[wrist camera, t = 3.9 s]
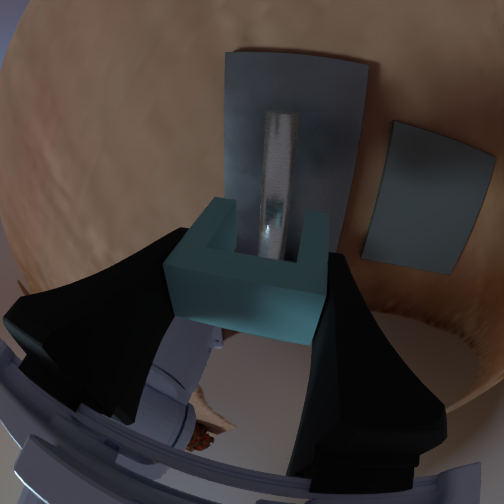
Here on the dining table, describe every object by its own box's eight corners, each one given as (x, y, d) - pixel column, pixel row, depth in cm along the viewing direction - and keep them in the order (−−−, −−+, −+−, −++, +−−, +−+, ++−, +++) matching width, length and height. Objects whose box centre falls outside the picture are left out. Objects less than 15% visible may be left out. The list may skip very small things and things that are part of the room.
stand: (321, 298, 23) (314, 362, 18) (230, 281, 24) (204, 339, 19) (367, 65, 12) (392, 59, 7) (229, 52, 13) (179, 45, 8)
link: (319, 260, 13) (310, 345, 9) (216, 243, 14) (174, 315, 10) (329, 214, 11) (326, 295, 8) (214, 196, 12) (162, 263, 8)
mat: (448, 271, 18) (449, 275, 18) (360, 255, 19) (360, 258, 19) (493, 156, 12) (496, 158, 12) (393, 120, 13) (394, 121, 13)
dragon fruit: (185, 408, 56) (215, 422, 62) (160, 423, 55) (191, 435, 62) (194, 437, 49) (225, 447, 55) (168, 451, 48) (200, 460, 55)
